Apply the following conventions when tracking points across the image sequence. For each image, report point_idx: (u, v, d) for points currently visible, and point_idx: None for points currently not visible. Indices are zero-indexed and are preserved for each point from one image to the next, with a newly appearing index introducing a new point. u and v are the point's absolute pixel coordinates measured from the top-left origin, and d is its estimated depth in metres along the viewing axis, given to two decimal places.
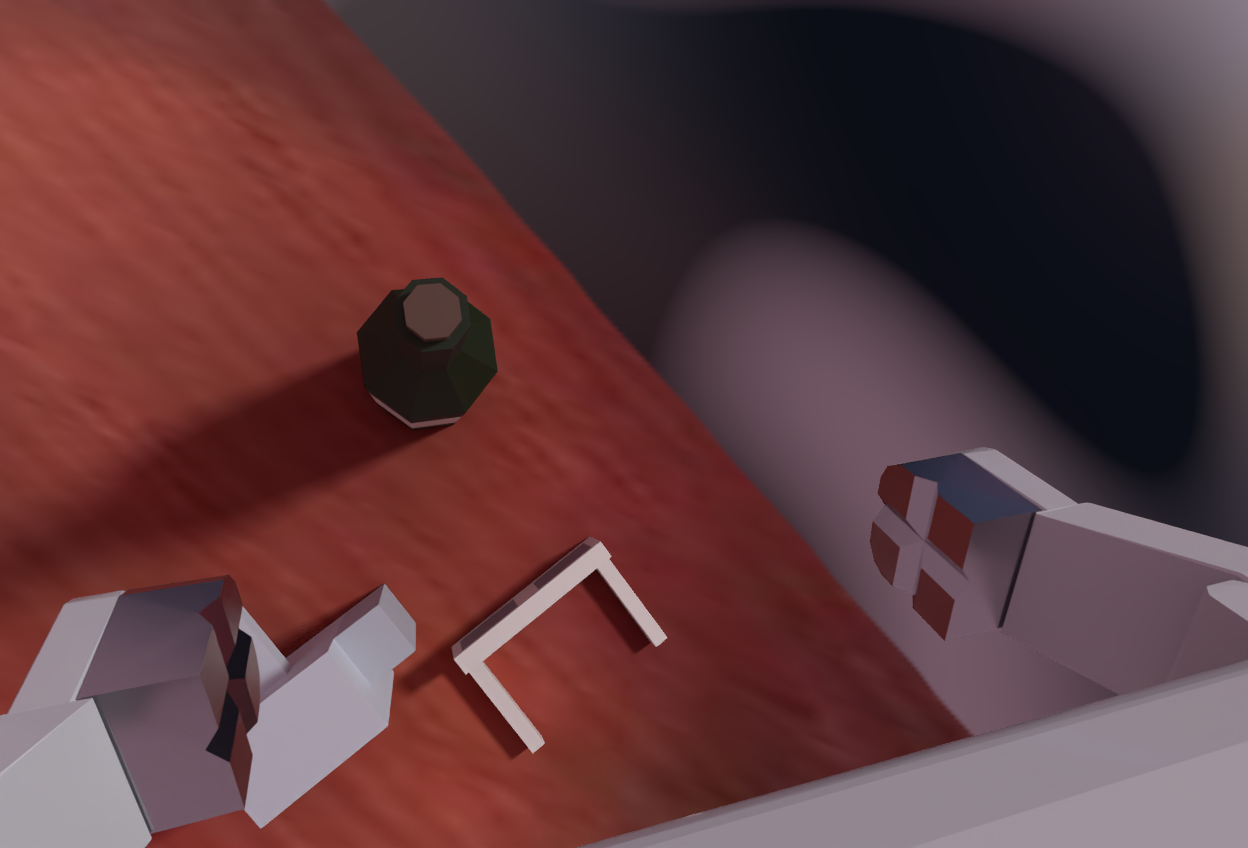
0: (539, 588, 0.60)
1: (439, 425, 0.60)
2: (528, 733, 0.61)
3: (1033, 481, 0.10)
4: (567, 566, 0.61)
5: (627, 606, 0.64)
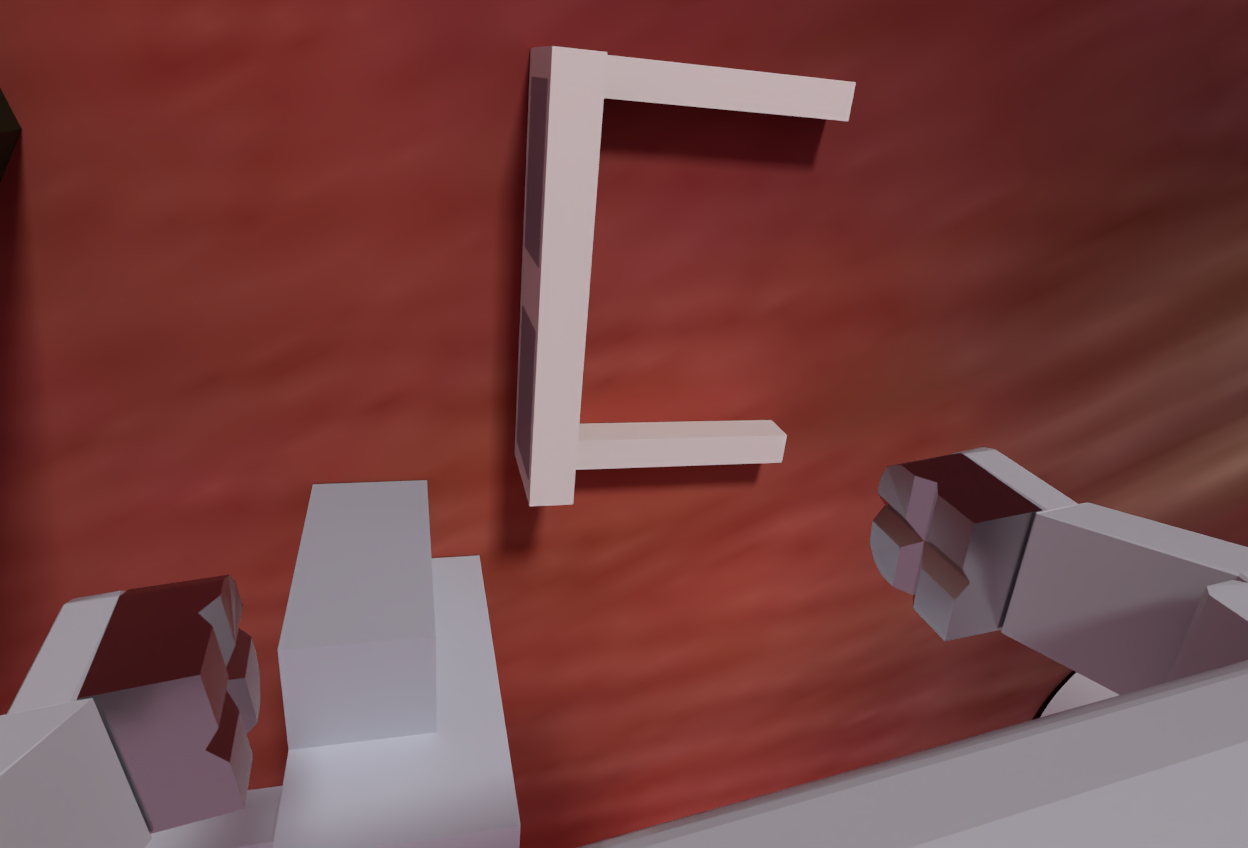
0: (538, 264, 0.23)
1: None
2: (750, 449, 0.30)
3: (1033, 481, 0.10)
4: (543, 170, 0.22)
5: (730, 107, 0.25)
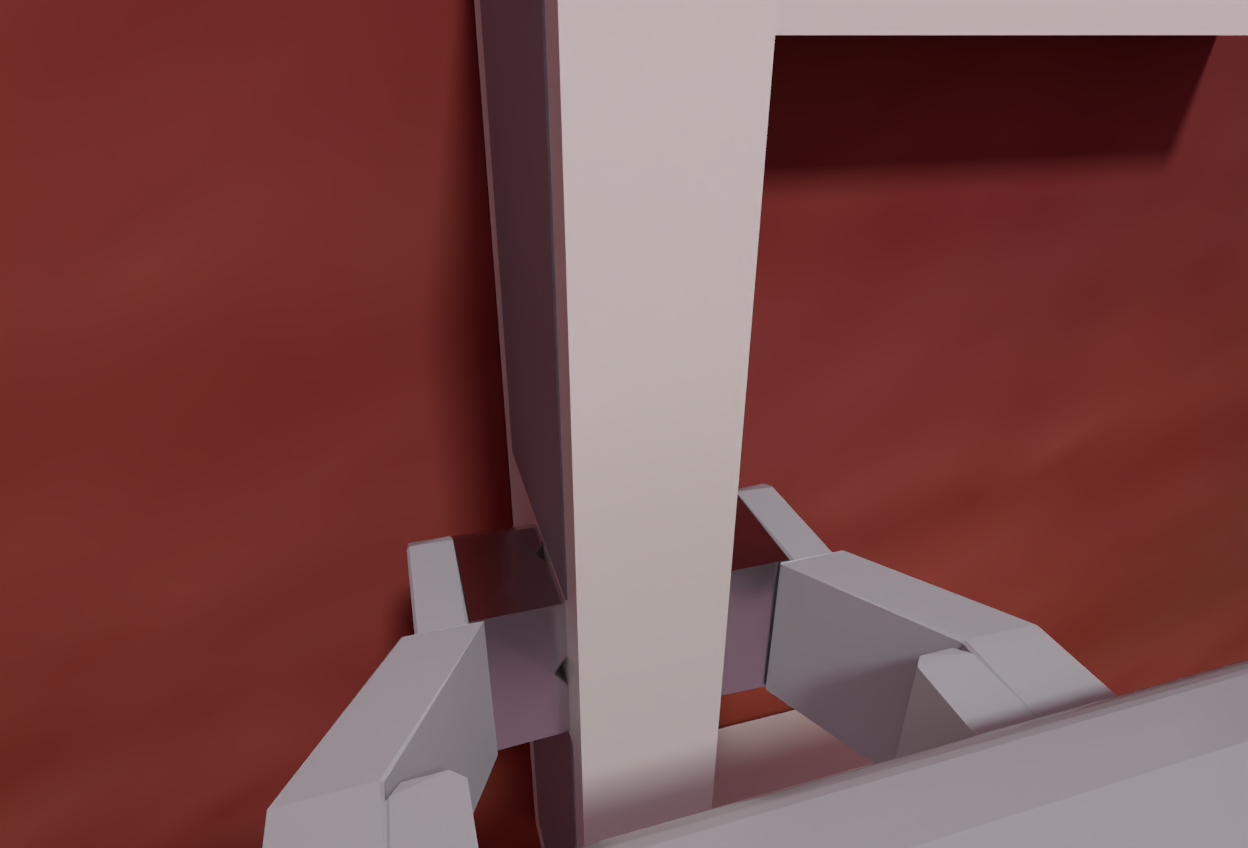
0: (564, 589, 0.07)
1: None
2: None
3: (795, 525, 0.09)
4: (557, 322, 0.06)
5: (1060, 25, 0.09)
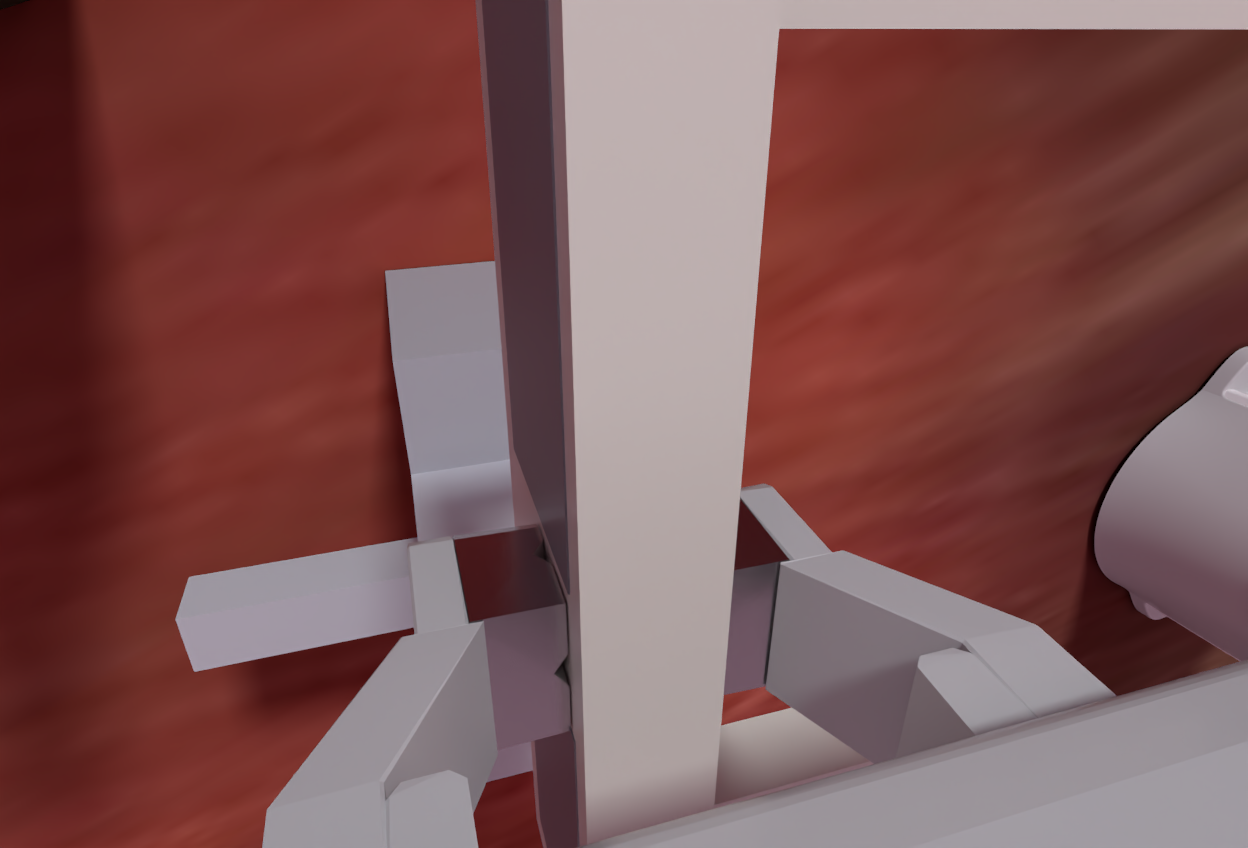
0: (567, 583, 0.07)
1: None
2: None
3: (795, 524, 0.09)
4: (560, 314, 0.06)
5: (1062, 19, 0.09)
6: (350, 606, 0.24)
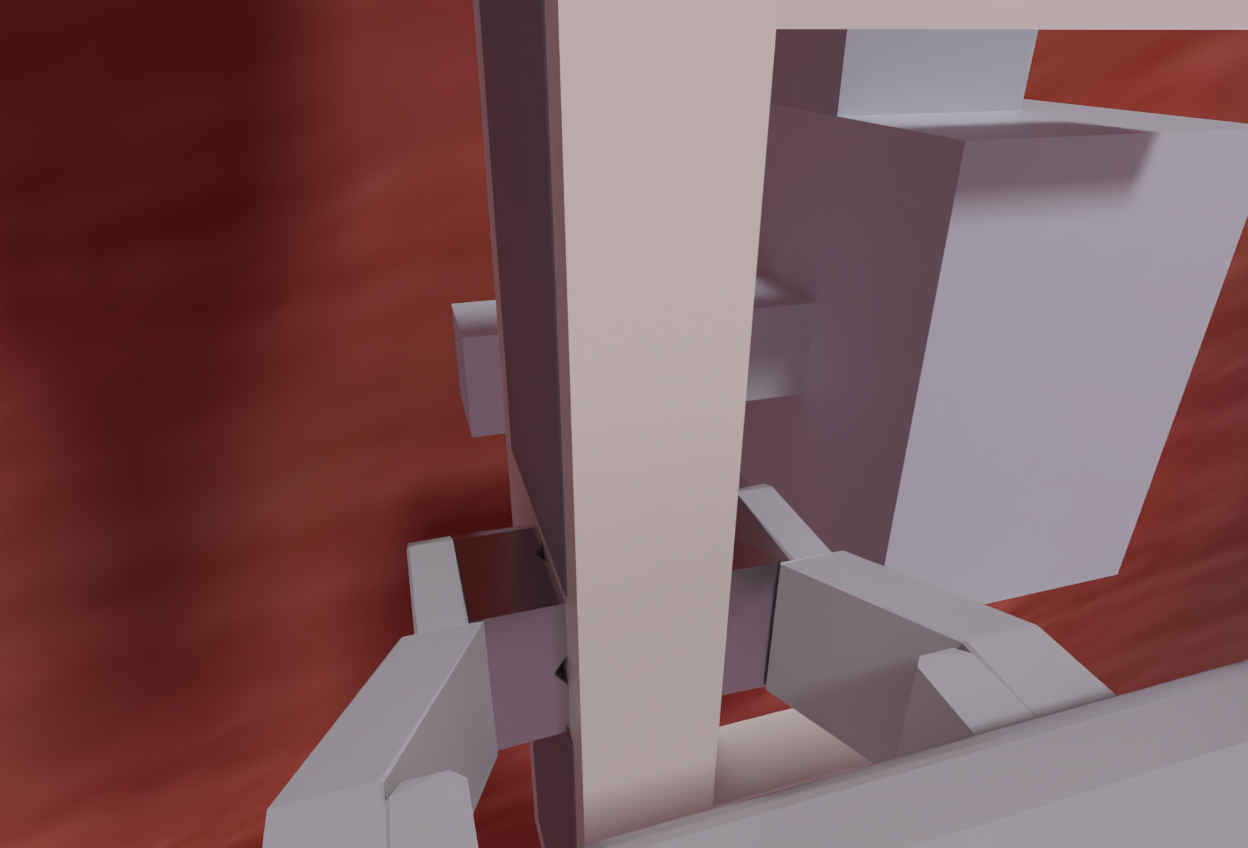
0: (565, 585, 0.07)
1: None
2: None
3: (795, 525, 0.09)
4: (557, 316, 0.06)
5: (1061, 20, 0.09)
6: None
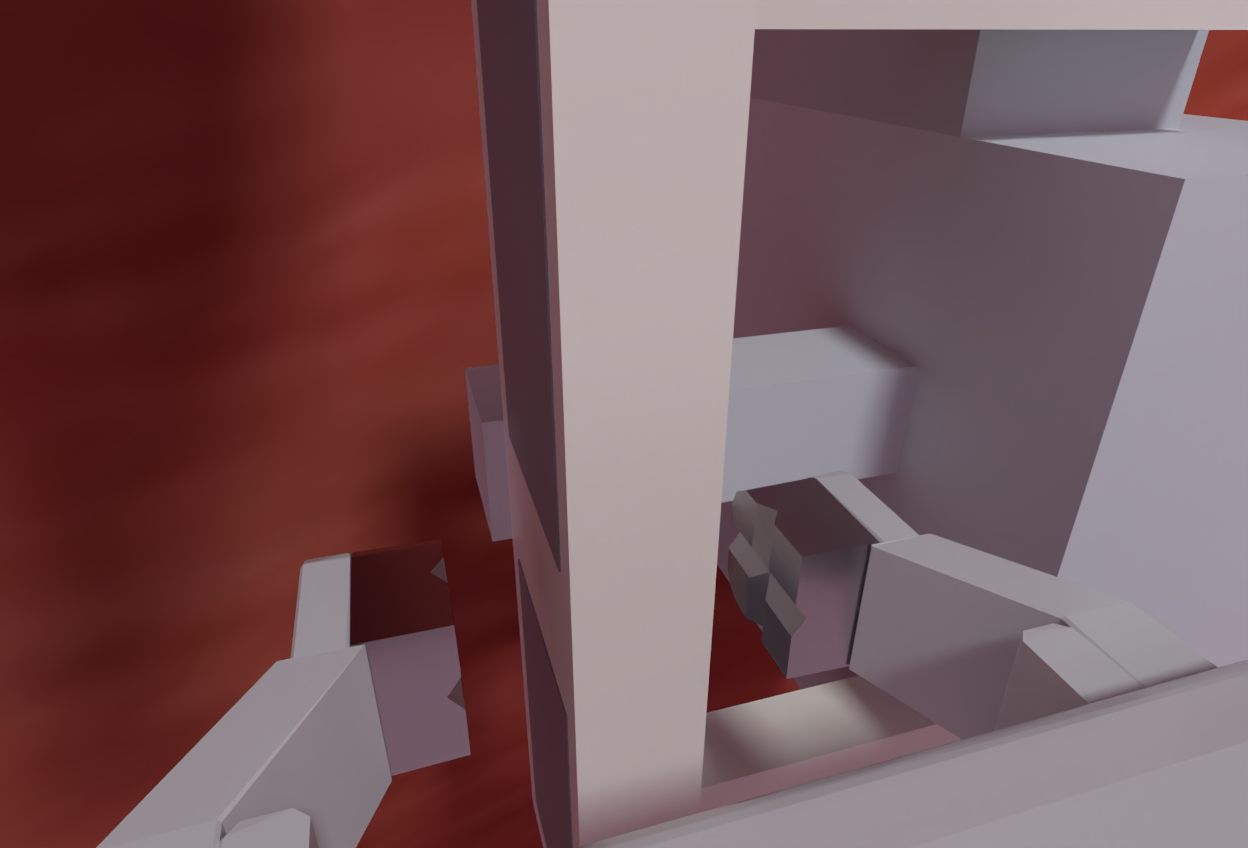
0: (558, 561, 0.08)
1: None
2: None
3: (880, 509, 0.09)
4: (549, 301, 0.06)
5: (1038, 20, 0.09)
6: (780, 424, 0.12)
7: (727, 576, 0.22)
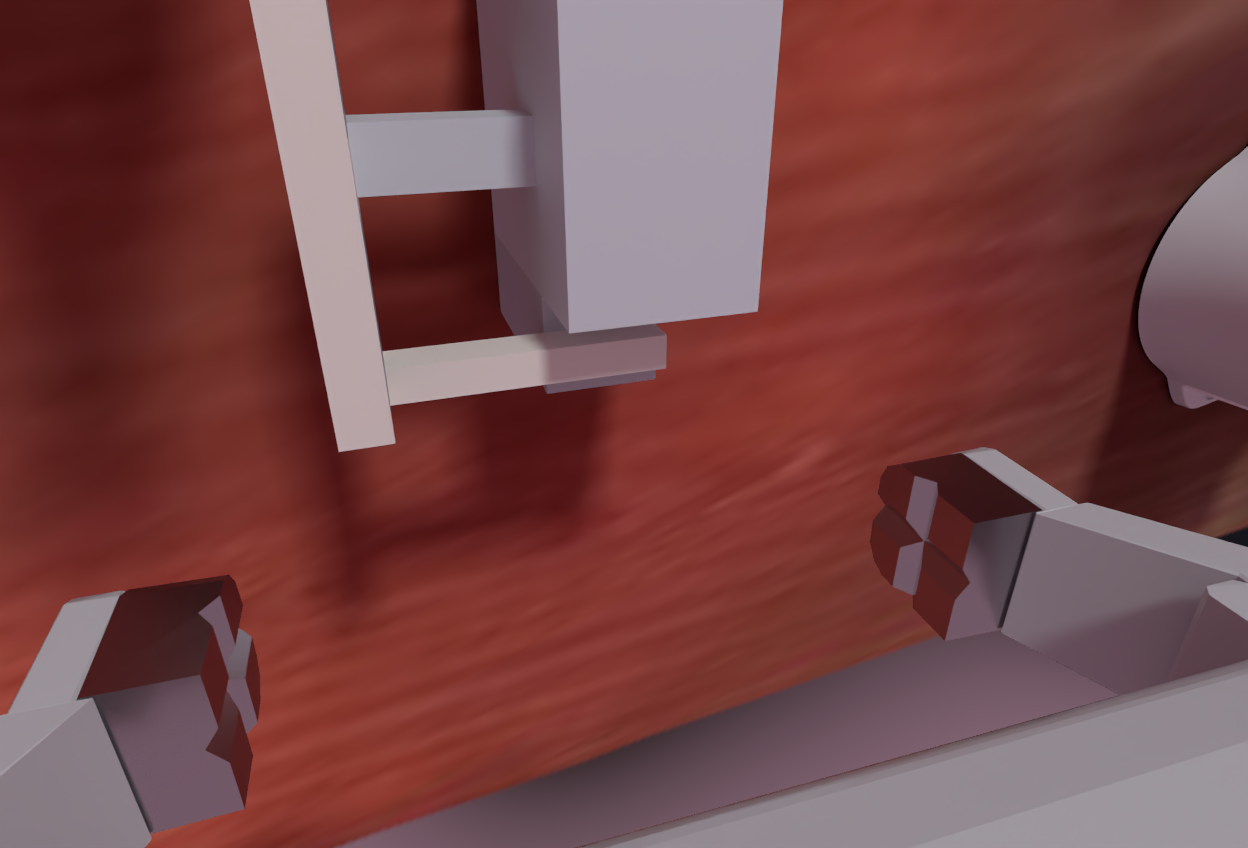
0: None
1: None
2: (623, 356, 0.25)
3: (1033, 481, 0.10)
4: None
5: None
6: (453, 145, 0.22)
7: (513, 332, 0.32)
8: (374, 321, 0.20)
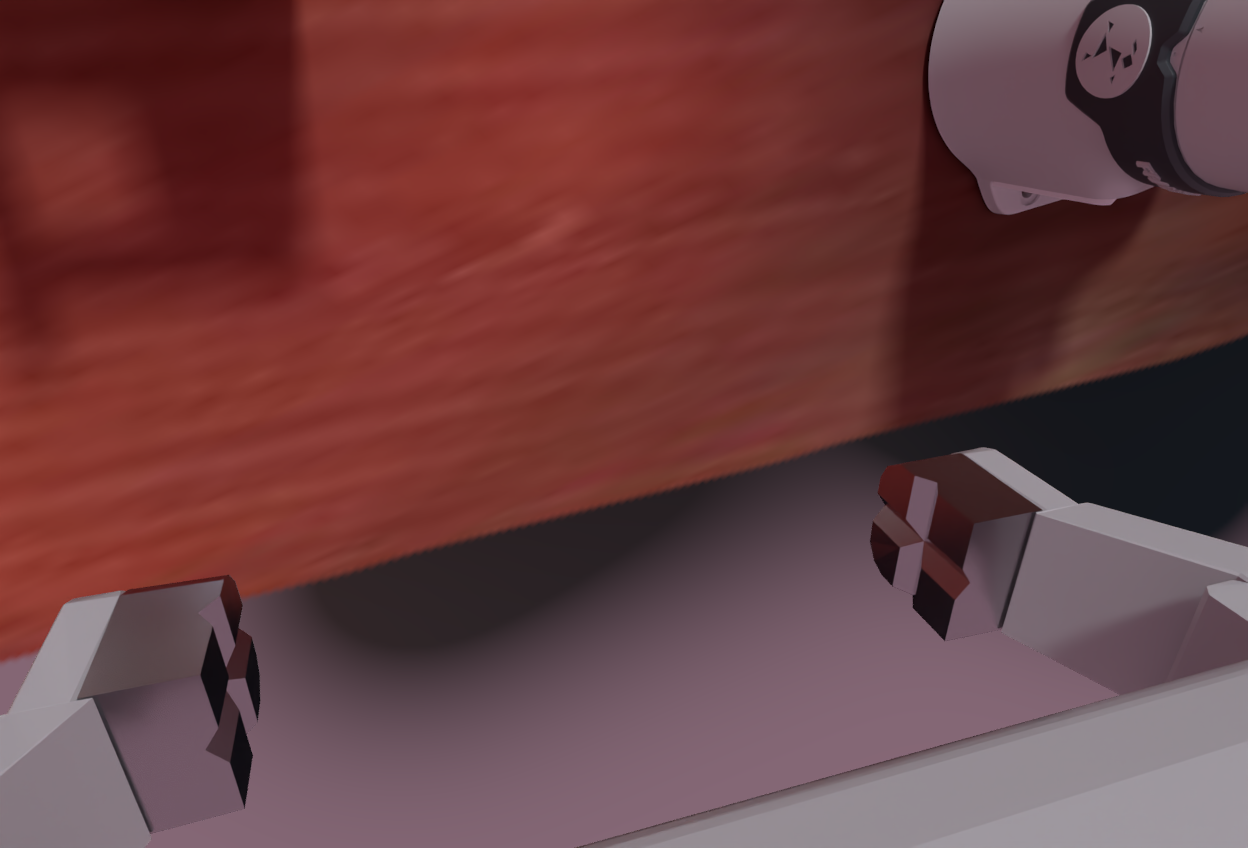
0: None
1: None
2: None
3: (1033, 481, 0.10)
4: None
5: None
6: None
7: None
8: None
